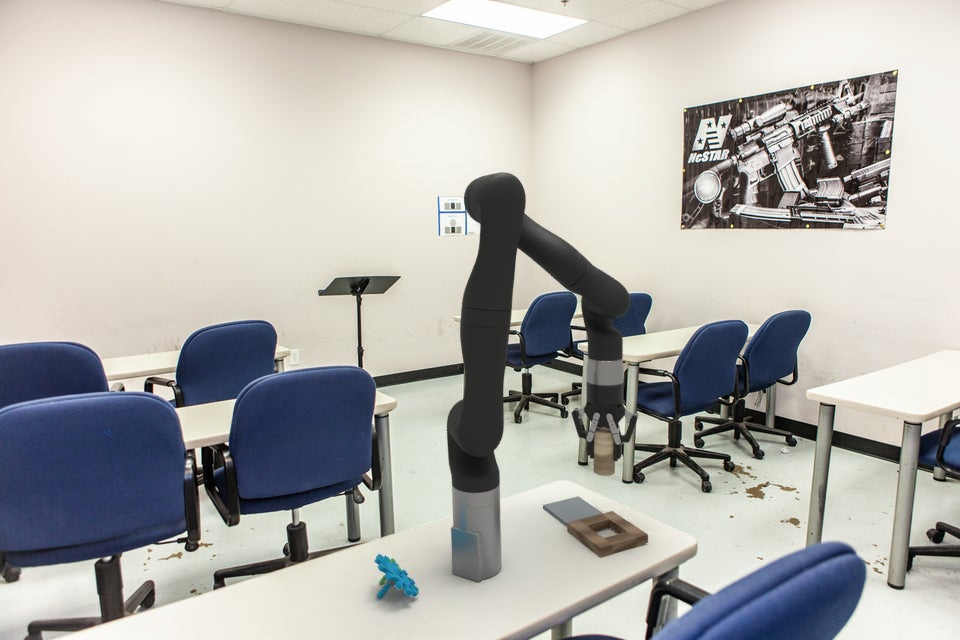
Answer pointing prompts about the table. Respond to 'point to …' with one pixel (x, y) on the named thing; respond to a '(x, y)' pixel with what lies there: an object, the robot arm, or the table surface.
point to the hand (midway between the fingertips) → (604, 458)
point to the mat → (571, 510)
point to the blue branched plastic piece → (394, 577)
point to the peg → (604, 452)
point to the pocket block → (601, 546)
